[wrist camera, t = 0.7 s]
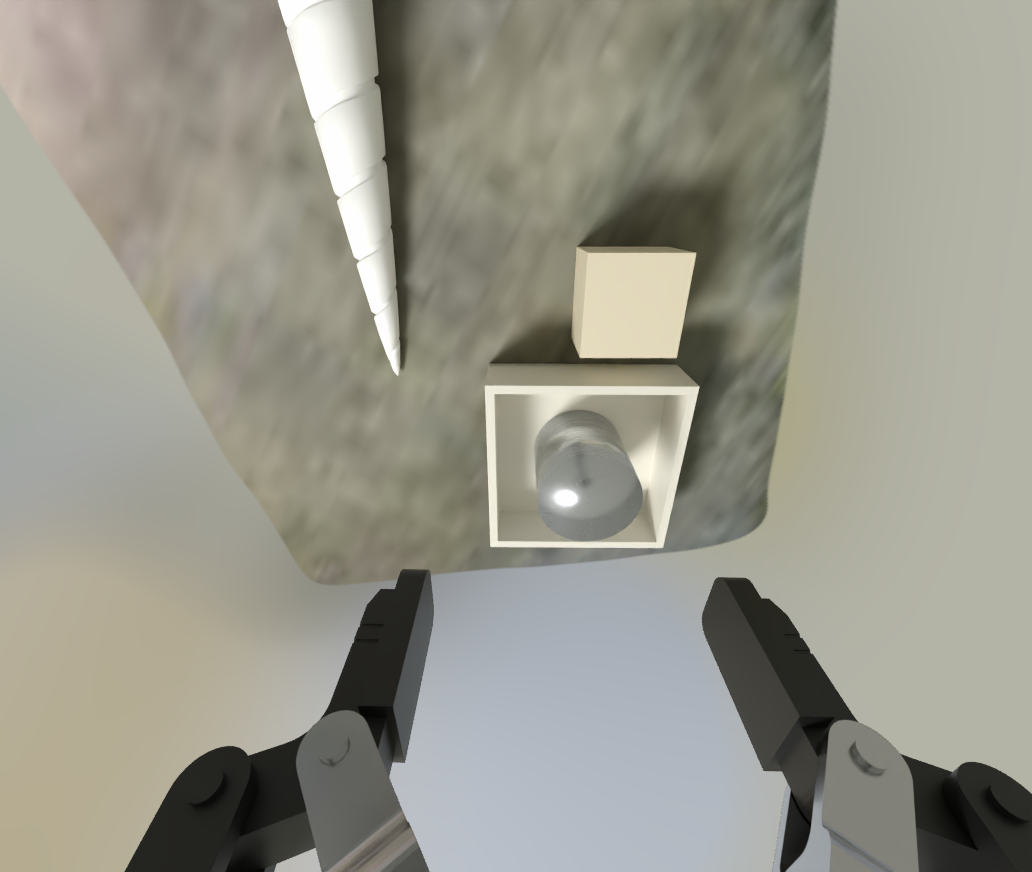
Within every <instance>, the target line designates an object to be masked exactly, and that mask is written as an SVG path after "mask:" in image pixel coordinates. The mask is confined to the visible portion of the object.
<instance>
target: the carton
mask: <svg viewBox="0 0 1032 872" xmlns="http://www.w3.org/2000/svg"><path fill="white" fill-rule="evenodd" d="M695 258H696V253H695V252H690V251H686V250H681V249H677V248H672V247H577V253H576V269H575V285H574V301H573V317H572V333H571V338H572V340H573V343H574V345H575V347H576V350H577V352H578V354H579V357H580V358H677V353H678V348H679V343H680V338H681V332H682V327H683V322H684V316H685V311H686V306H687V300H688V295H689V290H690V284H691V279H692V274H693V268H694V263H695Z"/></svg>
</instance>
